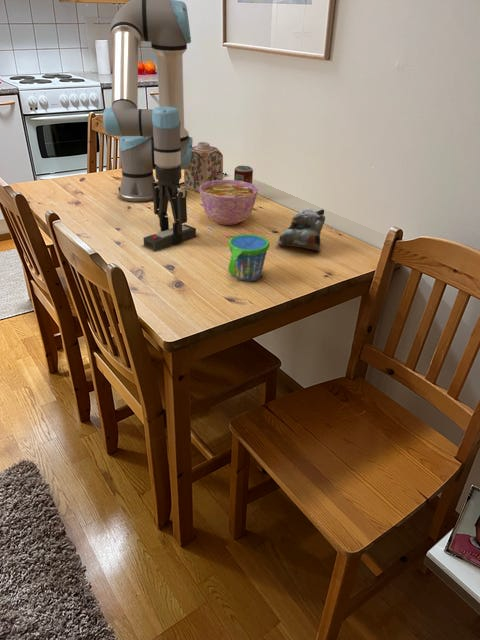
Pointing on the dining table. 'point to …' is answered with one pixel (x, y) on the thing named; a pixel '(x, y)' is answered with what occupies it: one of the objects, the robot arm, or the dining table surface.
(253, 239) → the snack cup
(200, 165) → the decorative jar
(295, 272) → the dining table surface
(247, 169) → the soda can
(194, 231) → the tv remote
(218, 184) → the bowl of food
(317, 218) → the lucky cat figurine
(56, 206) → the dining table surface
